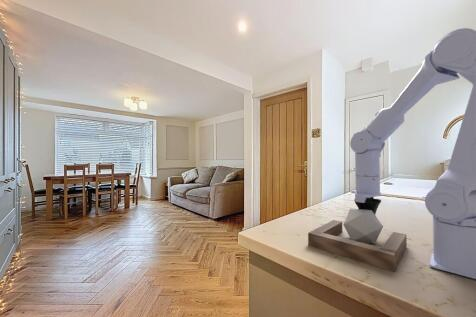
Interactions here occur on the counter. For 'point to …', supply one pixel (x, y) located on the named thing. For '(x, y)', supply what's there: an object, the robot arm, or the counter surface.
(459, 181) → the robot arm
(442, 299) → the counter surface
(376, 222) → the die
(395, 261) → the pocket
